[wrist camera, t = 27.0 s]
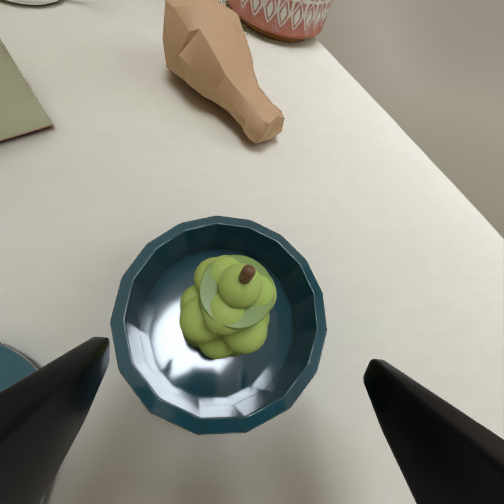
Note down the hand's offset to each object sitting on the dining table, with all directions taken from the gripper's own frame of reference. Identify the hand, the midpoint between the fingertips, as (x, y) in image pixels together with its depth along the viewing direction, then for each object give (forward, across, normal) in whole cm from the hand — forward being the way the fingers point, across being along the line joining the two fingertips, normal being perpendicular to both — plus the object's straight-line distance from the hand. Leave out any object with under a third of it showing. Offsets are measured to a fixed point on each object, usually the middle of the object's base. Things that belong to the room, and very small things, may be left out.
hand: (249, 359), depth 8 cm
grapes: (+11, 0, +6) cm, 13 cm away
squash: (+33, +3, -14) cm, 36 cm away
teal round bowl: (+12, 0, +7) cm, 14 cm away
